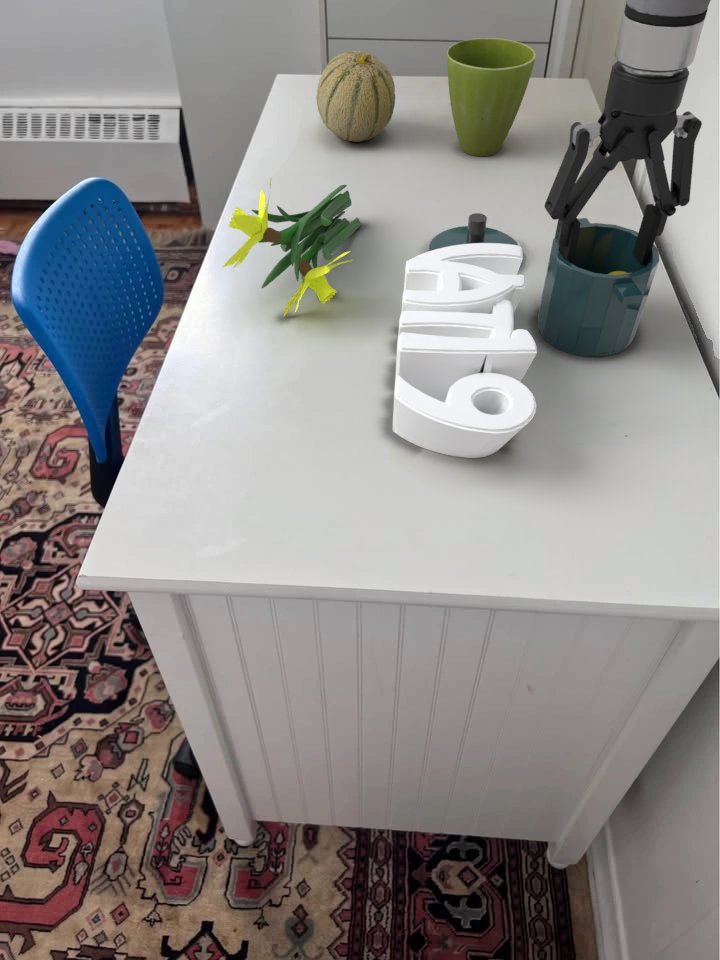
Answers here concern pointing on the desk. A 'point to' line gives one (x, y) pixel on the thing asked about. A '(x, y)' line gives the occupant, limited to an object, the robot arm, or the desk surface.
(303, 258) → the daffodil flowers
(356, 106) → the cantaloupe
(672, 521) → the desk surface
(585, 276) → the pot
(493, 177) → the desk surface
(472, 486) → the desk surface
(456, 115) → the flower pot
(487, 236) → the lid
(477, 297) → the wavy white extrusion
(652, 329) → the desk surface
